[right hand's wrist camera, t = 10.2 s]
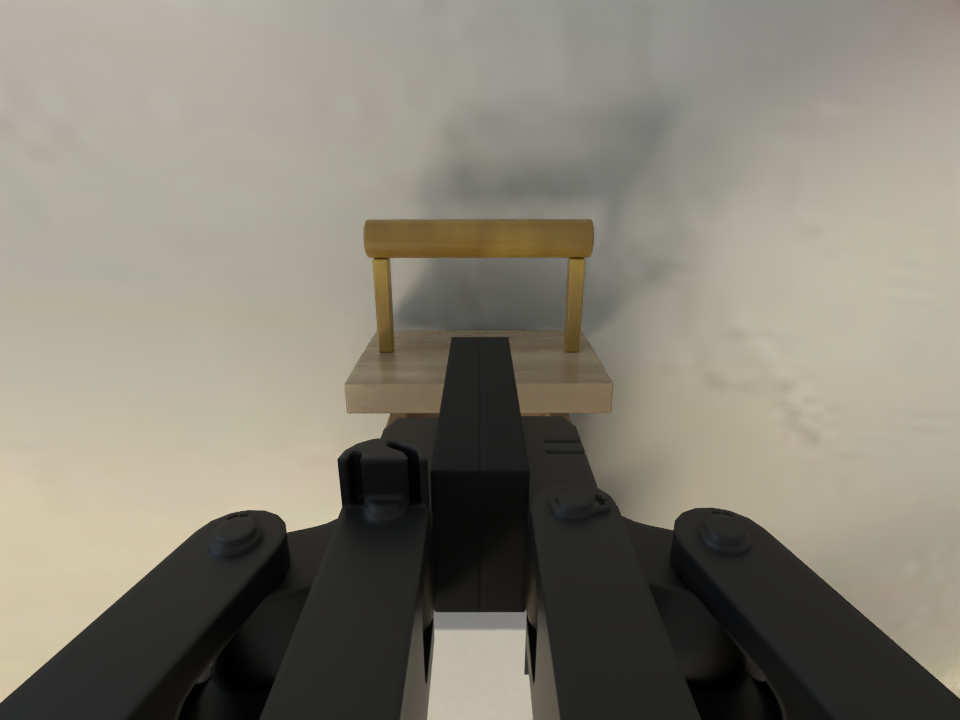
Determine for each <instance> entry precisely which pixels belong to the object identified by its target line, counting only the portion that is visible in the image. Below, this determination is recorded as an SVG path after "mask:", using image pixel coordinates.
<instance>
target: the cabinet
mask: <svg viewBox="0 0 960 720" xmlns="http://www.w3.org/2000/svg"><path fill="white" fill-rule="evenodd" d="M526 614H527V612H526V610H525V612H435V610H434V649H433V660H432V671H431V682H430V693H429V704H428V715H427V720H533V714H532V703H531V692H530V682H529V675H524V667H525V640H526Z"/></svg>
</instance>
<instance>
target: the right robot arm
mask: <svg viewBox="0 0 960 720" xmlns="http://www.w3.org/2000/svg"><path fill="white" fill-rule="evenodd" d="M338 469H339V478H340V488H341V498H342V509H341V512H340V514H339V517H338V519H336V520H333V521H331V522H329V523H327V524H323V525H320V526H316V527H312V528H308V529H303V530H298V531H293V532H288V533H287V532H286V525H285V522H284V521H283V520H282V519H281V518H280V517H279V516H278V515H276V514H273V513H270V512H267V511H256V510H247V511H240V512H235V513H231V514H228V515H225V516H223V517H220V518H218V519H215V520H213V521H211V522H209V523H208V524H206V525H205V526H203V527H202V528H200V529H199V530H197V531H196V532H195V533H194V534H193V535H191V536H190V537H189V538H188V539H187V540H186V541H185V542H183V543H182V544H181V545H180V546H179V547H178V548H177V549H175V550H174V551H173V552H172V553H171V554H170V555H169V556H168V557H166V558H165V559H164V560H163V561H162V562H161V563H160V564H158V565H157V566H156V567H155V568H154V569H153V570H152V571H150V572H149V573H148V574H147V575H146V576H145V577H144V578H142V579H141V580H140V581H139V582H138V583H137V584H136V585H134V586H133V587H132V588H131V589H130V590H129V591H128V592H127V593H125V594H124V595H123V596H122V597H121V598H120V599H119V600H117V601H116V602H115V603H114V604H113V605H112V606H111V607H109V608H108V609H107V610H106V611H105V612H104V613H103V614H101V615H100V616H99V617H98V618H97V619H96V620H95V621H93V622H92V623H91V624H90V625H89V626H88V627H87V628H85V629H84V630H83V631H82V632H81V633H80V634H79V635H78V636H76V637H75V638H74V639H73V640H72V641H71V642H70V643H68V644H67V645H66V646H65V647H64V648H63V649H62V650H60V651H59V652H58V653H57V654H56V655H55V656H54V657H52V658H51V659H50V660H49V661H48V662H47V663H46V664H44V665H43V666H42V667H41V668H40V669H39V670H38V671H37V672H35V673H34V674H33V675H32V676H31V677H30V678H29V679H27V680H26V681H25V682H24V683H23V684H22V685H21V686H19V687H18V688H17V689H16V690H15V691H14V692H13V693H11V694H10V695H9V696H8V697H7V698H6V699H5V700H3V701H2V702H1V703H0V720H427V715H428V704H429V693H430V682H431V671H432V660H433V649H434V605H435V612H525V602H526V612H527V614H526V640H525V667H524V675H529V682H530V692H531V703H532V714H533V720H960V699H959V698H958V697H957V696H956V695H955V694H954V693H952V692H951V691H950V690H949V689H948V688H947V687H946V686H944V685H943V684H942V683H941V682H940V681H939V680H938V679H936V678H935V677H934V676H933V675H932V674H931V673H929V672H928V671H927V670H926V669H925V668H924V667H923V666H921V665H920V664H919V663H918V662H917V661H916V660H915V659H913V658H912V657H911V656H910V655H909V654H908V653H906V652H905V651H904V650H903V649H902V648H901V647H900V646H898V645H897V644H896V643H895V642H894V641H893V640H892V639H890V638H889V637H888V636H887V635H886V634H885V633H884V632H882V631H881V630H880V629H879V628H878V627H877V626H875V625H874V624H873V623H872V622H871V621H870V620H869V619H867V618H866V617H865V616H864V615H863V614H862V613H861V612H859V611H858V610H857V609H856V608H855V607H854V606H853V605H851V604H850V603H849V602H848V601H847V600H846V599H844V598H843V597H842V596H841V595H840V594H839V593H838V592H836V591H835V590H834V589H833V588H832V587H831V586H830V585H828V584H827V583H826V582H825V581H824V580H823V579H821V578H820V577H819V576H818V575H817V574H816V573H815V572H813V571H812V570H811V569H810V568H809V567H808V566H807V565H805V564H804V563H803V562H802V561H801V560H800V559H799V558H797V557H796V556H795V555H794V554H793V553H792V552H790V551H789V550H788V549H787V548H786V547H785V546H784V545H782V544H781V543H780V542H779V541H778V540H777V539H776V538H774V537H773V536H772V535H771V534H770V533H769V532H768V531H766V530H765V529H764V528H762V527H761V526H759V525H758V524H756V523H755V522H753V521H752V520H750V519H749V518H746V517H744V516H741V515H739V514H736V513H734V512H731V511H727V510H721V509H716V508H695V509H692V510H689V511H686V512H683V513H682V514H681V515H680V516H679V517H678V518H677V519H676V520H675V525H674V531H673V530H669V529H664V528H659V527H654V526H649V525H645V524H642V523H638V522H635V521H632V520H630V519H627V518H625V517H623V516H621V514H620V511H619V509H618V506H617V505H616V503H615V502H614V501H613V499H612V498H611V497H610V496H609V495H607V494H606V493H604V492H603V491H601V490H600V489H598V487H597V485H596V482H595V479H594V476H593V473H592V471H591V468H590V465H589V462H588V460H587V457H586V454H585V453H584V448H583V446H582V443H581V440H580V437H579V434H578V432H577V429H576V427H575V426H574V425H573V424H571V423H570V422H569V421H568V420H566V419H565V418H564V417H563V416H521V412H520V406H519V400H518V393H517V387H516V381H515V375H514V368H513V362H512V356H511V350H510V343H509V337H451V343H450V350H449V356H448V362H447V368H446V375H445V381H444V387H443V393H442V400H441V406H440V412H439V418H397V419H396V420H395V421H393V422H392V423H391V424H390V425H388V426H387V427H386V428H385V429H384V431H383V434H382V437H381V438H380V439H372V440H368V441H365V442H361V443H358V444H356V445H354V446H352V447H351V448H349V449H347V450H345V451H344V452H343V453H342V455H341V456H340V457H339V458H338Z"/></svg>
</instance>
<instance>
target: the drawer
mask: <svg viewBox="0 0 960 720" xmlns="http://www.w3.org/2000/svg"><path fill="white" fill-rule="evenodd" d="M593 245H594V226H593V222H592V220H590V219H438V220H366V222H365V225H364V247H365V252H366V255H367V257H369V258H374V259H373V273H374V287H375V302H376V316H377V331H376V333H375V334H374V336H373V338H372V339H371V341H370V343H369V344H368V346H367V348H366V349H365V351H364V352H363V354H362V356H361V357H360V359H359V361H358V362H357V364H356V366H355V367H354V369H353V371H352V372H351V374H350V376H349V377H348V379H347V381H346V382H345V384H344V385H345V395H346V406H347V413H391V414H390V416H389V419H388V422H387V425H386V427H387V426H388V425H390V424H391V423H392V422H393V421H395V420H396V419H397V418H439V412H440V406H441V400H442V393H443V387H444V381H445V375H446V368H447V362H448V356H449V350H450V343H451V337H509V343H510V350H511V356H512V362H513V368H514V375H515V381H516V387H517V393H518V400H519V406H520V412H521V416H563V417H564V418H565V419H566V420H568V421H569V422H570V423H571V420H570V417H569V414H568V413H611V407H612V395H613V382H612V380H611V379H610V377H609V375H608V374H607V372H606V370H605V369H604V367H603V365H602V363H601V362H600V360H599V358H598V357H597V355H596V353H595V352H594V350H593V348H592V347H591V345H590V343H589V342H588V340H587V338H586V337H585V335H584V333H583V332H582V331H581V317H582V302H583V286H584V271H585V259H584V258H589V257H590V256H591V254H592V251H593ZM390 258H568V269H567V287H566V306H565V324H564V330H502V331H394V322H393V305H392V288H391V271H390ZM571 424H572V423H571ZM434 610H435V605H434ZM525 610H526V602H525Z"/></svg>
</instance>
